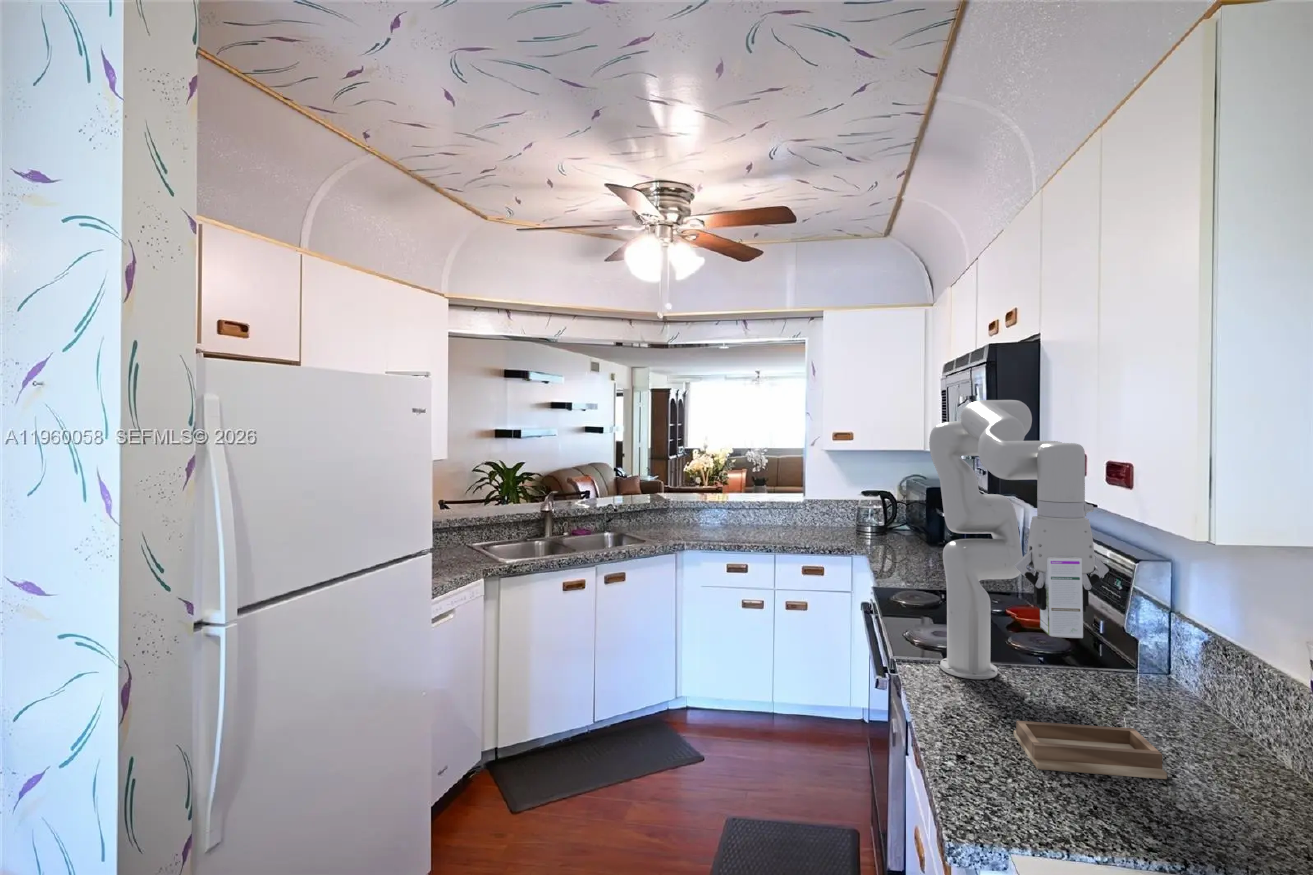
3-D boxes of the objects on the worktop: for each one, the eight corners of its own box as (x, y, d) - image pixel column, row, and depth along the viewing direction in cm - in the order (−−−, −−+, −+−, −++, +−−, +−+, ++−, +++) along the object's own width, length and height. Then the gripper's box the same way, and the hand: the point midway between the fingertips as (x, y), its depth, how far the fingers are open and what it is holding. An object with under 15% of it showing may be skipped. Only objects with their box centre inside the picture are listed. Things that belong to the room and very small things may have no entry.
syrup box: (1084, 638, 124) (1084, 557, 123) (1047, 636, 125) (1047, 556, 125) (1072, 629, 129) (1072, 551, 129) (1037, 627, 130) (1037, 550, 130)
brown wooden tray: (1013, 735, 133) (1013, 717, 133) (1129, 743, 129) (1129, 724, 129) (1037, 769, 120) (1037, 749, 120) (1166, 779, 116) (1167, 758, 116)
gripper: (1104, 508, 128) (1104, 606, 129) (1003, 507, 132) (1004, 602, 132) (1122, 514, 121) (1122, 617, 121) (1015, 512, 125) (1015, 612, 125)
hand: (1060, 608), depth 127 cm, fingers closed on syrup box, 5 cm apart
